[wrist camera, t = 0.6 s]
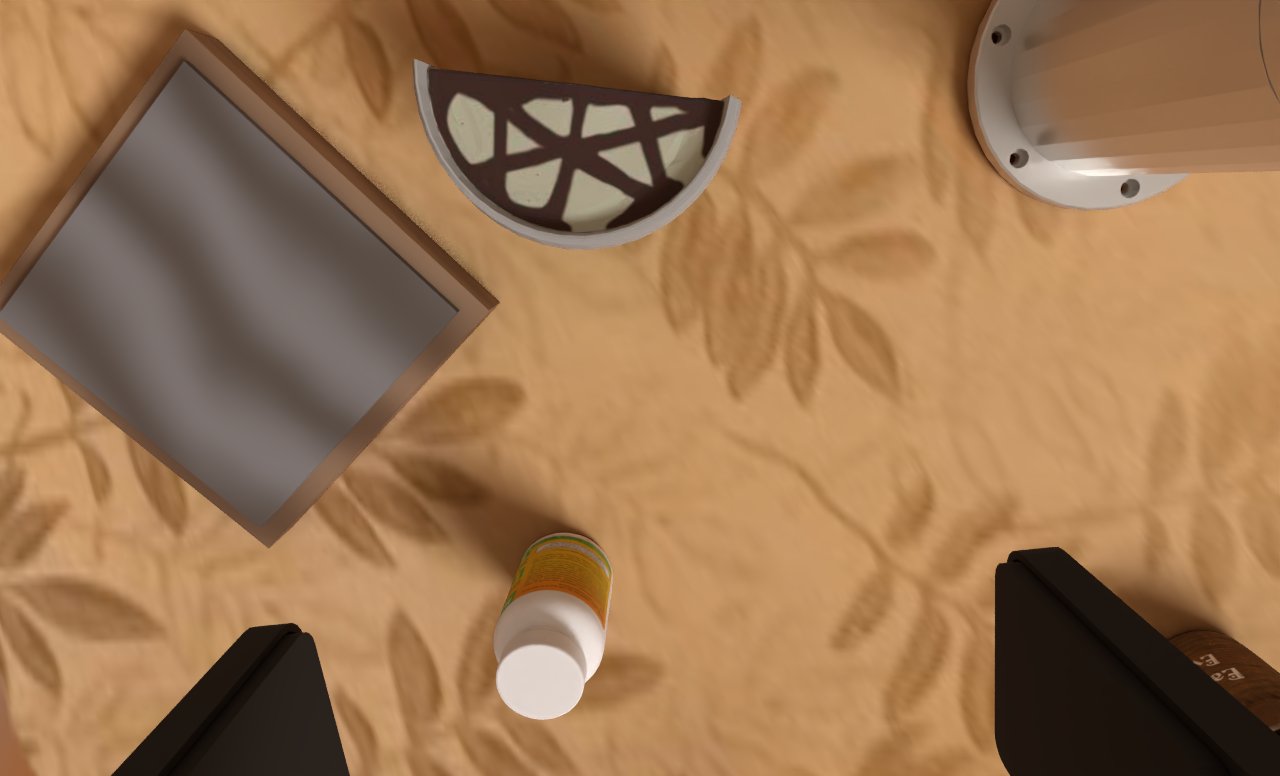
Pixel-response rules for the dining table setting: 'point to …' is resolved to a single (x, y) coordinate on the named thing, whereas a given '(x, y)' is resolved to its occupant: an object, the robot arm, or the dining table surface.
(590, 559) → the supplement bottle
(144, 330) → the podium
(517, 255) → the dining table surface
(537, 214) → the food container
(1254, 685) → the utensil holder
